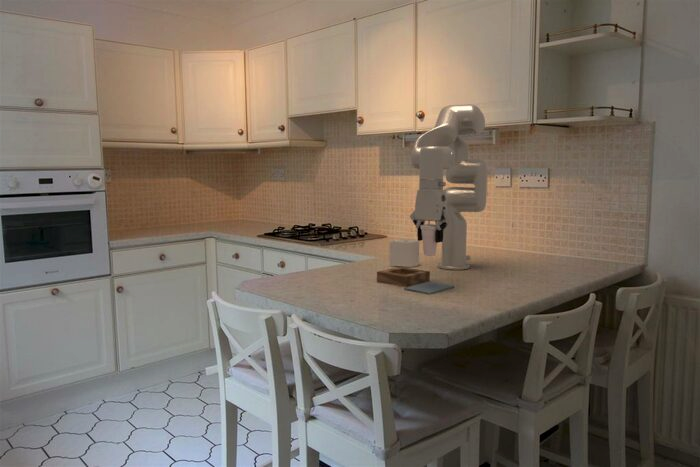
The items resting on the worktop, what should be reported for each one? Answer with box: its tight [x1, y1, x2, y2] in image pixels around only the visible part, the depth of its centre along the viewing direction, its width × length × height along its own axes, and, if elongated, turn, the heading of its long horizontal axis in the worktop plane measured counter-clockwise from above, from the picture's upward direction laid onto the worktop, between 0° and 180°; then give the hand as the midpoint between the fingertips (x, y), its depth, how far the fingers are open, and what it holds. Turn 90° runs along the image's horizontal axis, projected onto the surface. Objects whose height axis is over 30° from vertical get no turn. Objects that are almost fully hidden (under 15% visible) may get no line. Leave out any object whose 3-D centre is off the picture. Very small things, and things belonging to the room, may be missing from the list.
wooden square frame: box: [376, 266, 431, 288], centre depth 186 cm, size 13×13×4 cm
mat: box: [403, 281, 455, 295], centre depth 176 cm, size 14×10×1 cm
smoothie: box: [421, 221, 438, 257], centre depth 173 cm, size 6×6×14 cm
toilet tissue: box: [388, 238, 420, 268], centre depth 218 cm, size 11×12×10 cm
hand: (430, 240), depth 174 cm, fingers closed on smoothie, 6 cm apart
